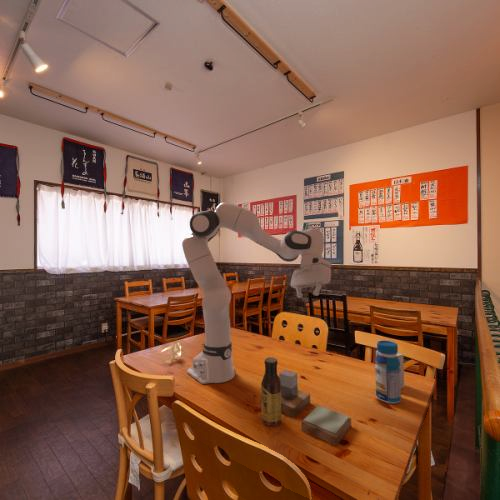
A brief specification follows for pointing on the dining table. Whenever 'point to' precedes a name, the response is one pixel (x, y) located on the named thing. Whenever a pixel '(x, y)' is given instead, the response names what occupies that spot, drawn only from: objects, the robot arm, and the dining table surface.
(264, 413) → the sauce bottle
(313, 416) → the stand right
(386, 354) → the beverage bottle
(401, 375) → the small box
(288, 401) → the stand left
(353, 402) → the dining table surface
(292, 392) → the housing
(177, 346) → the shrimp
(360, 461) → the dining table surface
